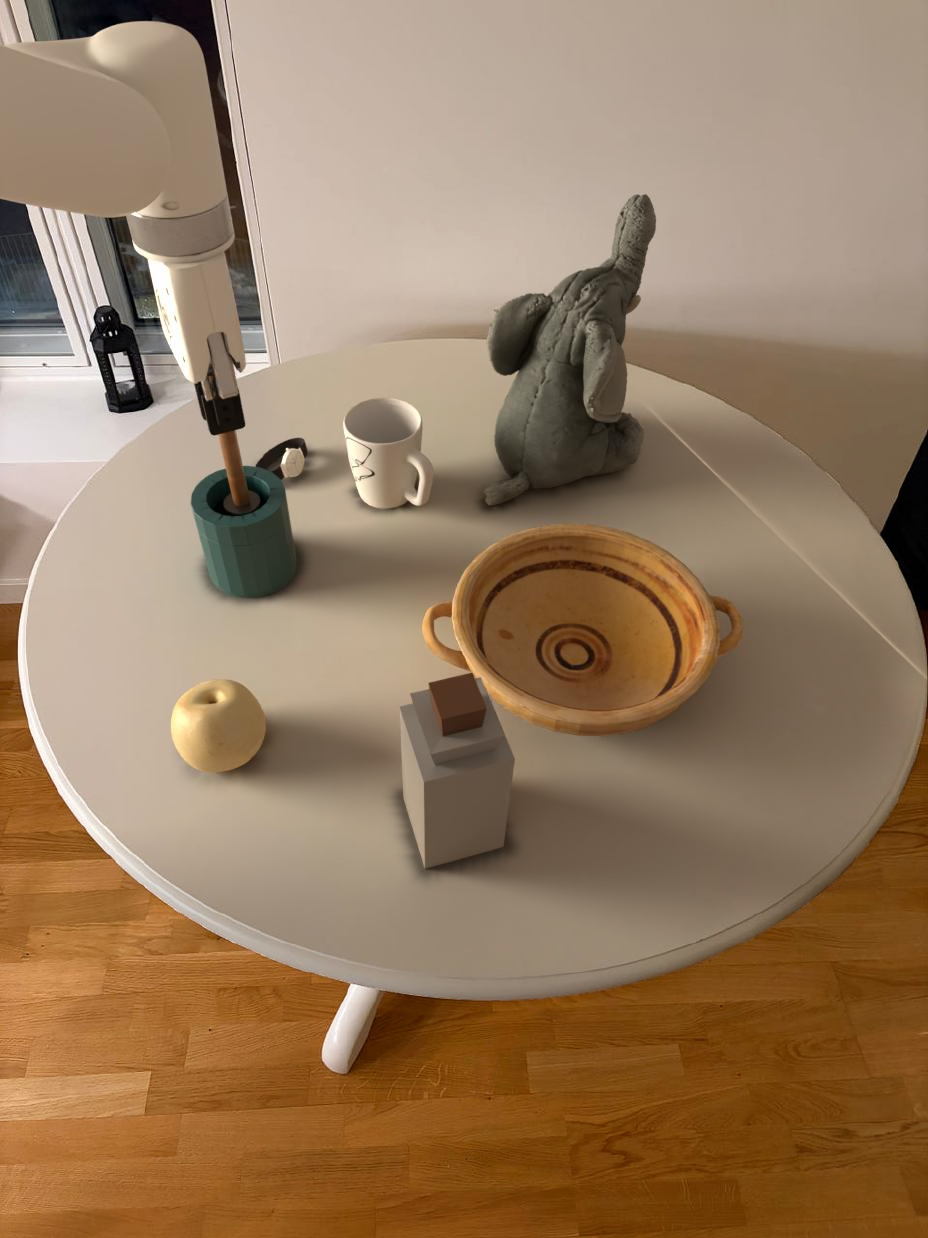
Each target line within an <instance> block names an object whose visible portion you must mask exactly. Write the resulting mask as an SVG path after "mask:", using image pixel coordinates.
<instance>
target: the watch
mask: <svg viewBox="0 0 928 1238" xmlns="http://www.w3.org/2000/svg"><path fill="white" fill-rule="evenodd" d="M308 454H309V451H308V446H307V443H306V441H305V439H304V438H303V437H293V438H288V439H286V440H284V441H282V442H280V443H278V444H276V445H275V446H273V447H271V448H269V449H268V451H266V452H265V453H264V454H263V455H262V457H260V459H258V461H257V463H256V464H255V467H260V468H262V469H265V470H267V469H268V468H270V467H271V466H272V465H273V464H274V463H276V462H277V461H279V459H281V458H282V460H281V463H280V465H279V466H278V467H276V468H274V469H272V470H271V471H270V470H269V471H270V472H272V473H273V474H275V475H276V476H277V477H278V478H280V479H281V481H282V480H283V479H284V478H285V479H286V478H287V477H289V478H295V477H298V476H299V475H300V474H301V473H302V472H303V469H304V466H305V460H306V458H307V456H308Z"/></svg>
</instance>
